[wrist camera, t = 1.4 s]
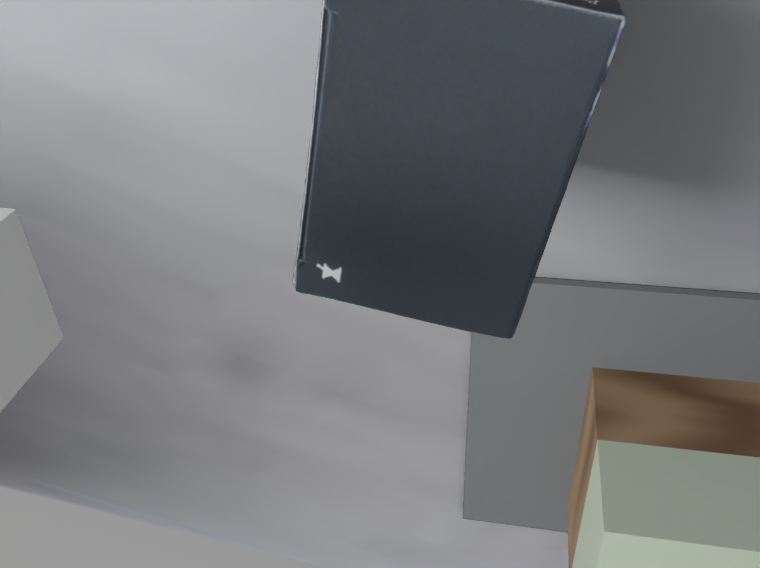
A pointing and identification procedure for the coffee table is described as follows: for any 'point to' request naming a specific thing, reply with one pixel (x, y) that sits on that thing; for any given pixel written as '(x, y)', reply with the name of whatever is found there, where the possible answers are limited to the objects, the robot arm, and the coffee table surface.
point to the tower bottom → (661, 421)
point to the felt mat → (583, 381)
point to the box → (446, 150)
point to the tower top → (669, 509)
